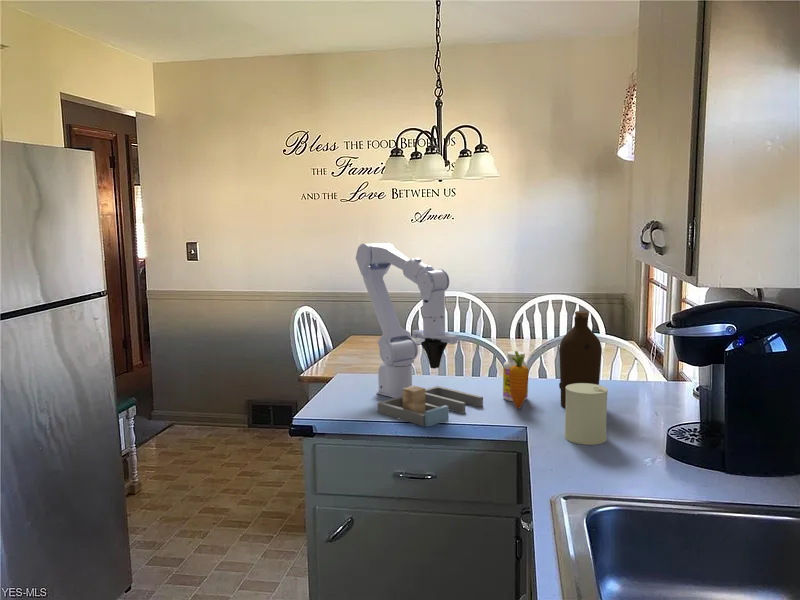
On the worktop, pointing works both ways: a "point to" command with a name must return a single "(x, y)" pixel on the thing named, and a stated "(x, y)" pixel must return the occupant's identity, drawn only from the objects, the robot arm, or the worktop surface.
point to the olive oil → (579, 355)
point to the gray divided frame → (431, 406)
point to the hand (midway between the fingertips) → (434, 367)
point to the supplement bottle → (506, 374)
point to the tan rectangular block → (414, 399)
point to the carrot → (518, 380)
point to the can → (586, 413)
